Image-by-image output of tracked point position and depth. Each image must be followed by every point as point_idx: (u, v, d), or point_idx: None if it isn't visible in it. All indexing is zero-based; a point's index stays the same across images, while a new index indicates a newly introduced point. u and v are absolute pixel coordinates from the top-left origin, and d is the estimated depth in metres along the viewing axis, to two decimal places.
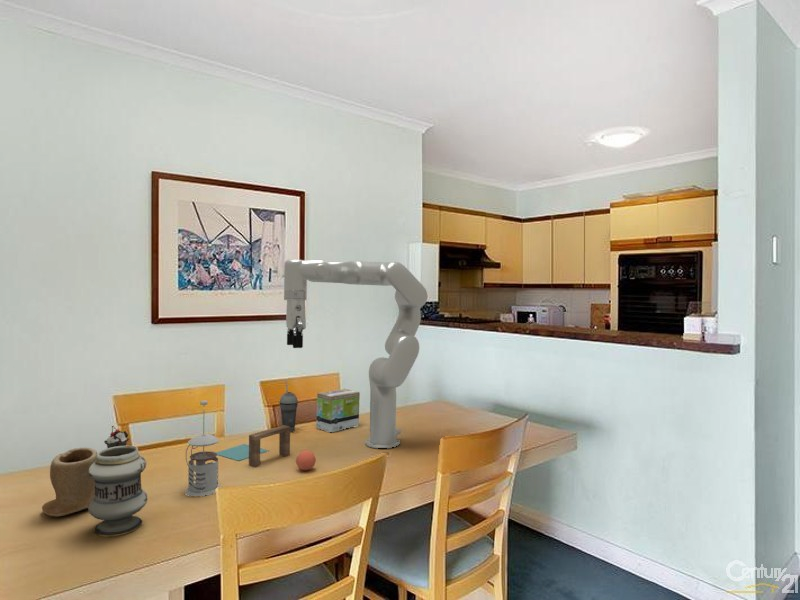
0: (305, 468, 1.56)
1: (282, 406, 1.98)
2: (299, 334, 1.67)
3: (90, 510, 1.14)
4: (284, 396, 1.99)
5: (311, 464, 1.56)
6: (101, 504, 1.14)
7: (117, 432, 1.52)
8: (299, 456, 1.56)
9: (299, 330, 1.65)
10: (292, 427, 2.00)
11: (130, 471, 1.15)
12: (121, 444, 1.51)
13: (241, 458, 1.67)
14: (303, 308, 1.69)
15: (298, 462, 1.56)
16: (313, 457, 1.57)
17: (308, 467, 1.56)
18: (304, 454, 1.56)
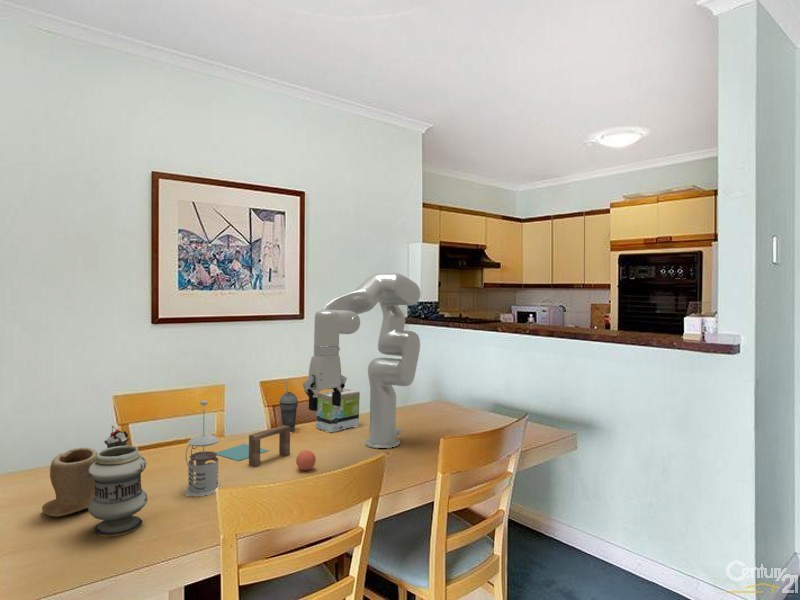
0: (305, 468, 1.56)
1: (282, 406, 1.98)
2: None
3: (90, 510, 1.14)
4: (284, 396, 1.99)
5: (311, 464, 1.56)
6: (101, 504, 1.14)
7: (117, 432, 1.52)
8: (299, 456, 1.56)
9: None
10: (292, 427, 2.00)
11: (130, 471, 1.15)
12: (121, 444, 1.51)
13: (241, 458, 1.67)
14: None
15: (298, 462, 1.56)
16: (313, 457, 1.57)
17: (308, 467, 1.56)
18: (304, 454, 1.56)
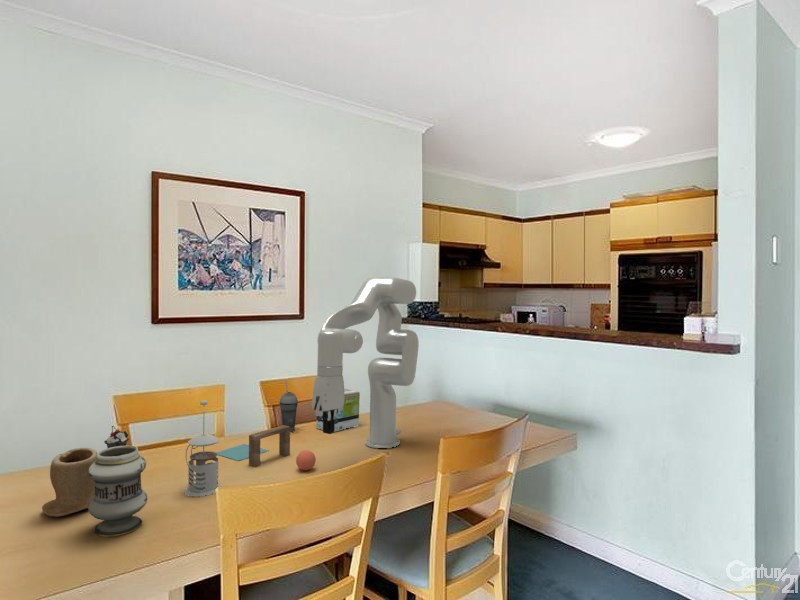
0: (305, 468, 1.56)
1: (282, 406, 1.98)
2: None
3: (90, 510, 1.14)
4: (284, 396, 1.99)
5: (311, 464, 1.56)
6: (101, 504, 1.14)
7: (117, 432, 1.52)
8: (299, 456, 1.56)
9: None
10: (292, 427, 2.00)
11: (130, 471, 1.15)
12: (121, 444, 1.51)
13: (241, 458, 1.67)
14: None
15: (298, 462, 1.56)
16: (313, 457, 1.57)
17: (308, 467, 1.56)
18: (304, 454, 1.56)
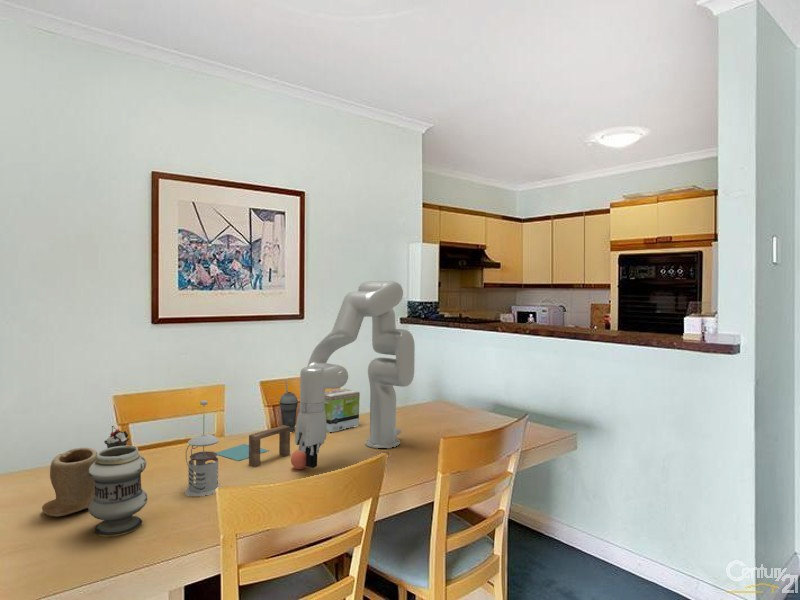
0: (301, 465, 1.56)
1: (282, 406, 1.98)
2: None
3: (90, 510, 1.14)
4: (284, 396, 1.99)
5: None
6: (101, 504, 1.14)
7: (117, 432, 1.52)
8: (292, 456, 1.57)
9: None
10: (292, 427, 2.00)
11: (130, 471, 1.15)
12: (121, 444, 1.51)
13: (241, 458, 1.67)
14: None
15: (293, 462, 1.57)
16: None
17: (304, 463, 1.56)
18: (296, 453, 1.57)
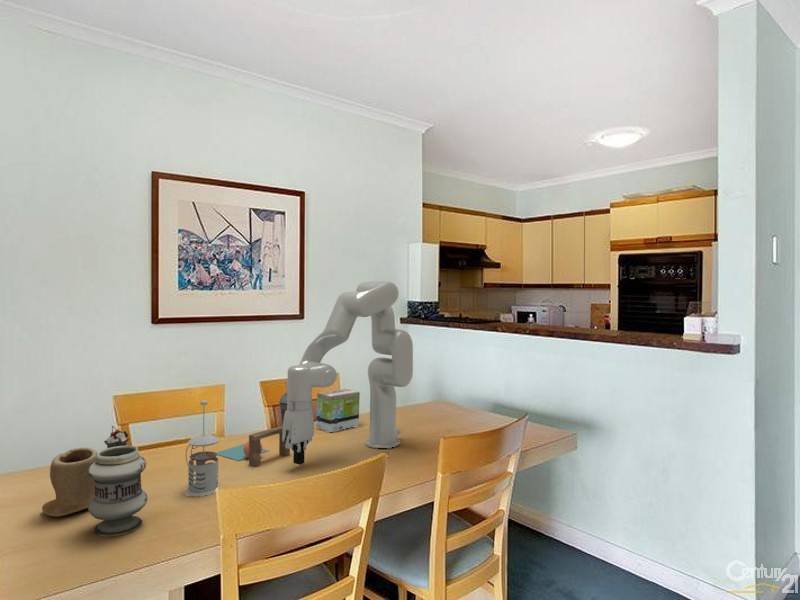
0: None
1: (282, 406, 1.98)
2: None
3: (90, 510, 1.14)
4: (284, 396, 1.99)
5: None
6: (101, 504, 1.14)
7: (117, 432, 1.52)
8: None
9: None
10: None
11: (130, 471, 1.15)
12: (121, 444, 1.51)
13: (241, 458, 1.67)
14: None
15: (245, 452, 1.66)
16: None
17: None
18: (246, 443, 1.68)
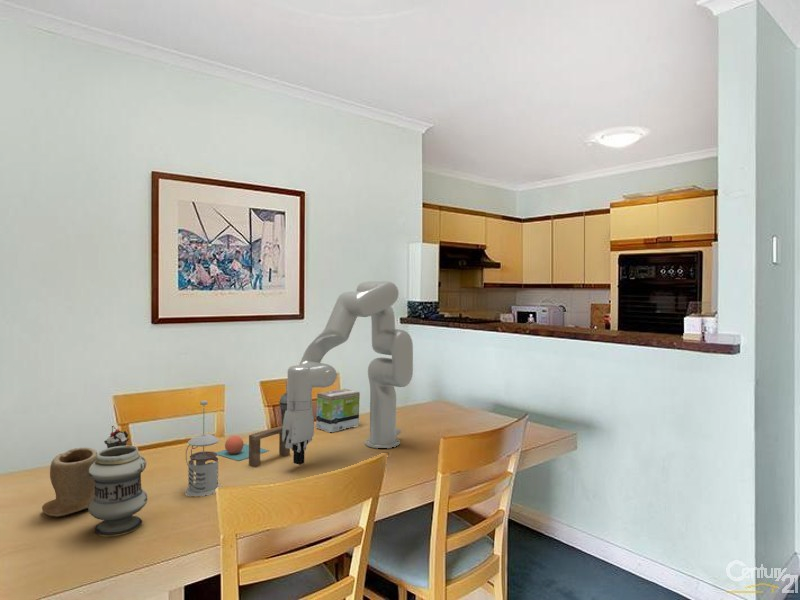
0: (225, 443, 1.72)
1: (282, 406, 1.98)
2: None
3: (90, 510, 1.14)
4: (284, 396, 1.99)
5: None
6: (101, 504, 1.14)
7: (117, 432, 1.52)
8: (232, 450, 1.70)
9: None
10: None
11: (130, 471, 1.15)
12: (121, 444, 1.51)
13: (241, 458, 1.67)
14: None
15: (228, 446, 1.70)
16: None
17: None
18: (231, 453, 1.71)
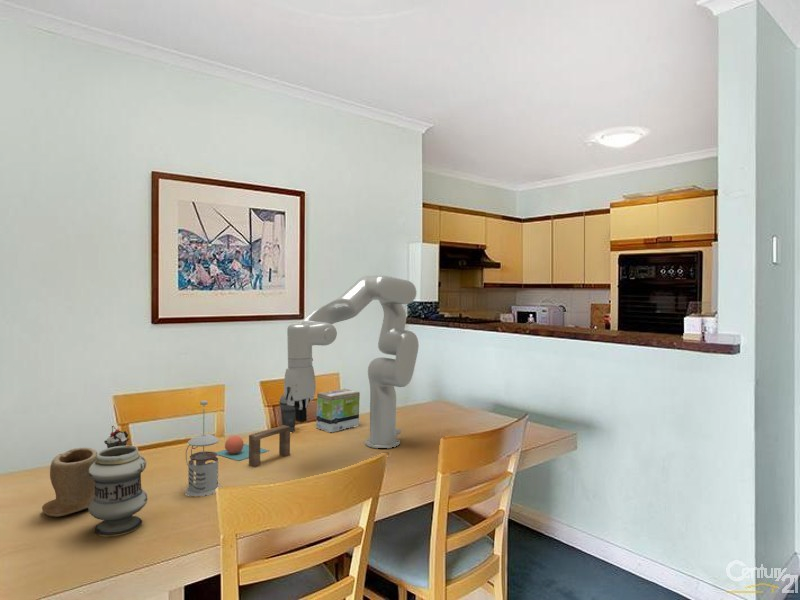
0: (225, 443, 1.72)
1: (282, 406, 1.98)
2: None
3: (90, 510, 1.14)
4: None
5: None
6: (101, 504, 1.14)
7: (117, 432, 1.52)
8: (232, 450, 1.70)
9: None
10: (292, 427, 2.00)
11: (130, 471, 1.15)
12: (121, 444, 1.51)
13: (241, 458, 1.67)
14: None
15: (228, 446, 1.70)
16: None
17: None
18: (231, 453, 1.71)
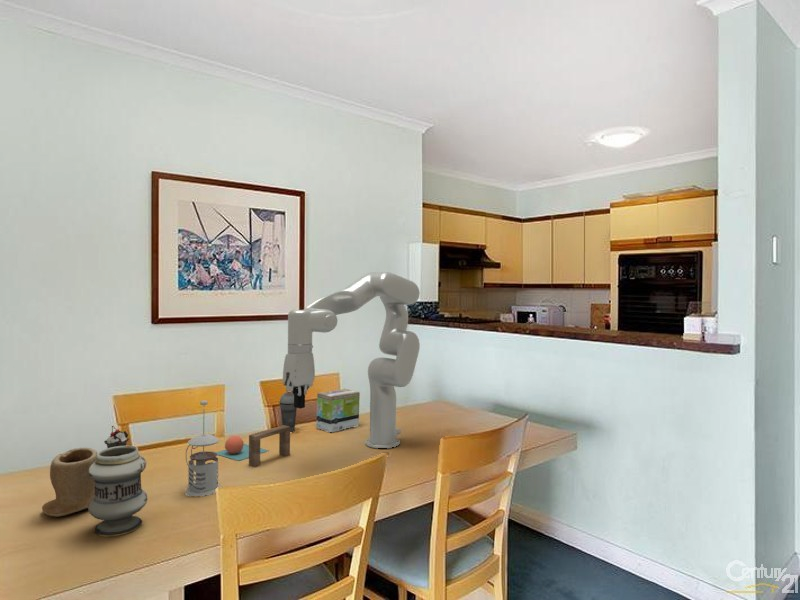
0: (225, 443, 1.72)
1: (282, 406, 1.98)
2: None
3: (90, 510, 1.14)
4: (284, 396, 1.99)
5: None
6: (101, 504, 1.14)
7: (117, 432, 1.52)
8: (232, 450, 1.70)
9: None
10: (292, 427, 2.00)
11: (130, 471, 1.15)
12: (121, 444, 1.51)
13: (241, 458, 1.67)
14: None
15: (228, 446, 1.70)
16: None
17: None
18: (231, 453, 1.71)
